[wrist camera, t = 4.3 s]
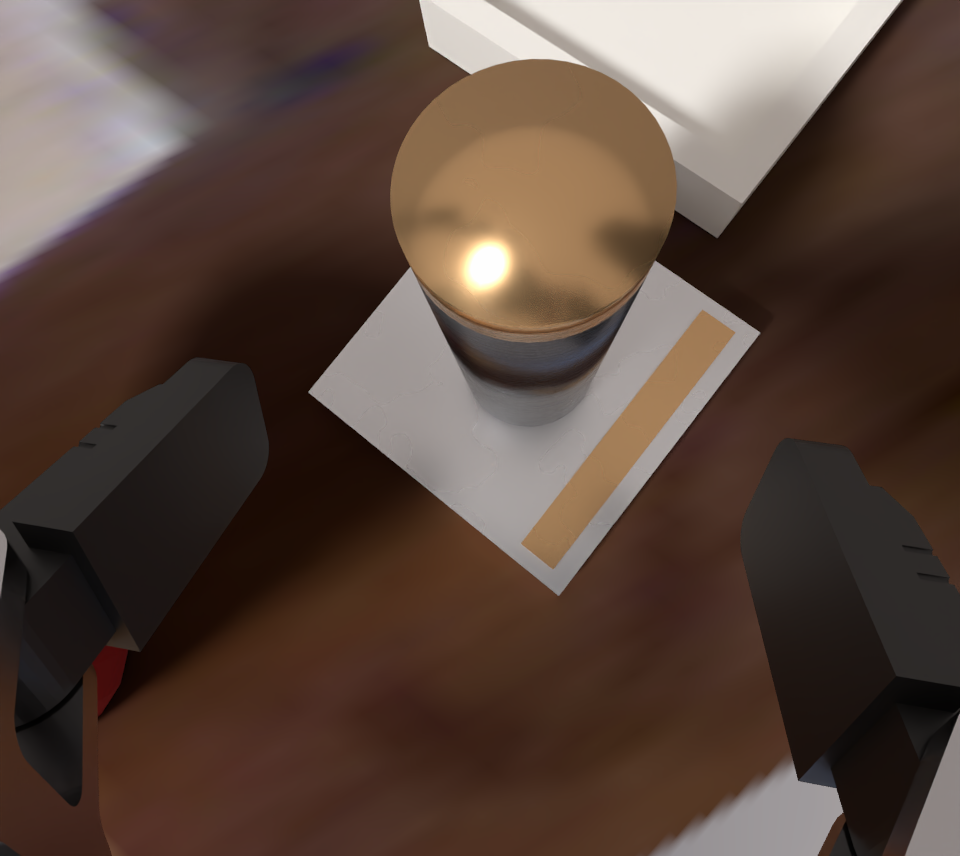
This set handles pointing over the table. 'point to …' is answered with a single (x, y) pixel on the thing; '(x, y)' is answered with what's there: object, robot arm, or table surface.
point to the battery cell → (532, 226)
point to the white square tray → (684, 71)
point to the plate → (539, 449)
